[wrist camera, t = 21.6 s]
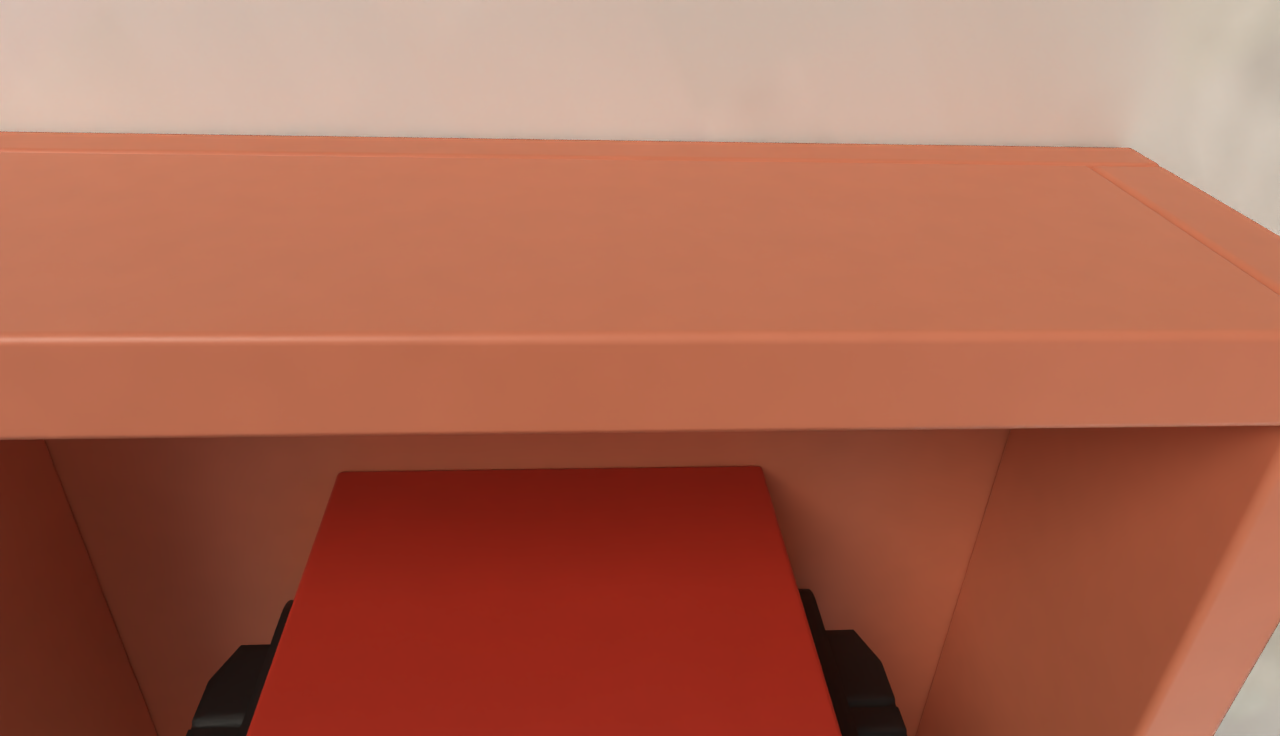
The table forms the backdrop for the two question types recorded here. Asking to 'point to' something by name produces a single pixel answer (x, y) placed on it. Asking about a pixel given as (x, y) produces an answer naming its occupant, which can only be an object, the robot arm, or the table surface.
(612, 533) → the red block
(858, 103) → the table surface
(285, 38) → the table surface
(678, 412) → the orange bin
